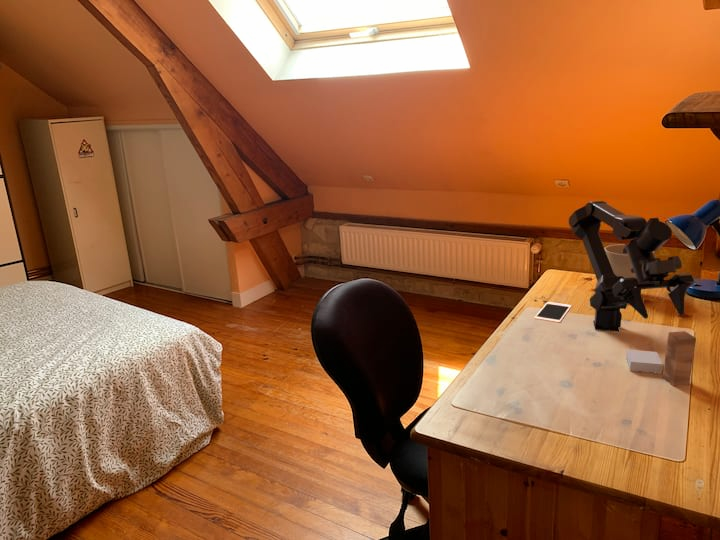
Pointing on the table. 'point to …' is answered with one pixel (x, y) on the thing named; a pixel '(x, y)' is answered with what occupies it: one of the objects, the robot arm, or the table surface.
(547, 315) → the cell phone
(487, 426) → the table surface
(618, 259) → the plant pot
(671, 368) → the walnut block
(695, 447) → the table surface
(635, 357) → the base
